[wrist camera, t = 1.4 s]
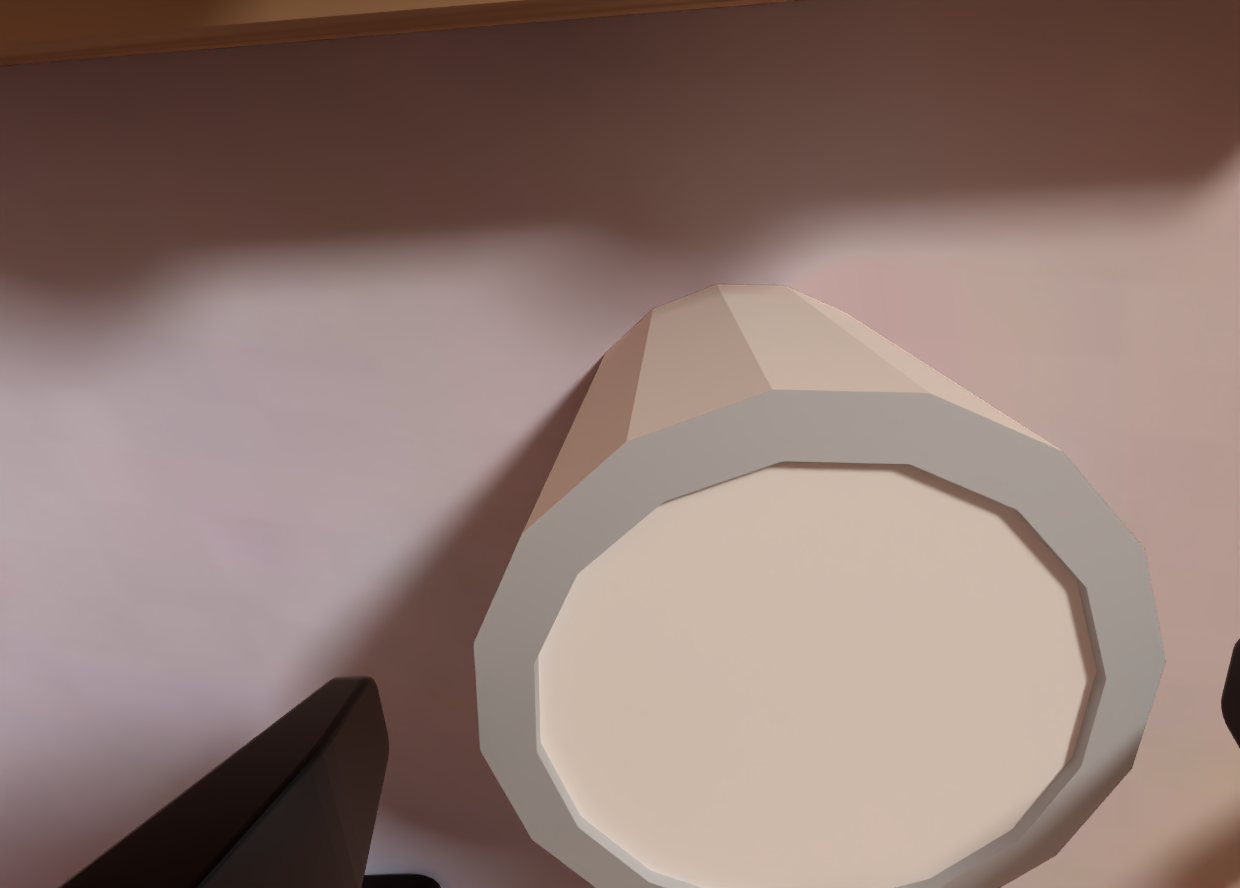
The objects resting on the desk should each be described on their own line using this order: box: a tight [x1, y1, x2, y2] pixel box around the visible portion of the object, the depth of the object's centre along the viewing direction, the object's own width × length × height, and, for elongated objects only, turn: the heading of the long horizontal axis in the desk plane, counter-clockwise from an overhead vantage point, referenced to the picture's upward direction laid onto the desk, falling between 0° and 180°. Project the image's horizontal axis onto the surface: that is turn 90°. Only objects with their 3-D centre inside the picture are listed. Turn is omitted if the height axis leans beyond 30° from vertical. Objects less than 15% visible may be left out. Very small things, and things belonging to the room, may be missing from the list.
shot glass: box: [473, 284, 1166, 888], centre depth 12 cm, size 7×7×7 cm
